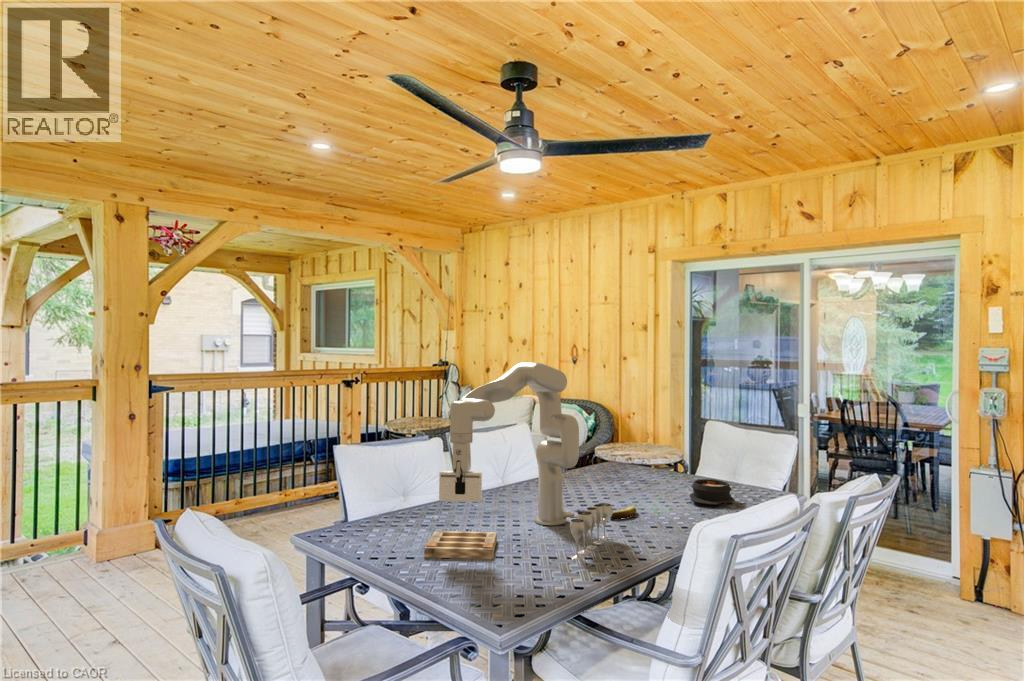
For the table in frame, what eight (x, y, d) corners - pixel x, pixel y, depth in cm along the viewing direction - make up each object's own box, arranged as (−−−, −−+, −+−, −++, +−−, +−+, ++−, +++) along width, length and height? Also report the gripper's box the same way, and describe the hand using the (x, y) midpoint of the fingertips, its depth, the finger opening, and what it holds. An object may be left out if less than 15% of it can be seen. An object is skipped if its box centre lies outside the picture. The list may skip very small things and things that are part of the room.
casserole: (699, 493, 278) (699, 475, 279) (740, 499, 268) (740, 480, 268) (680, 504, 258) (680, 485, 258) (724, 511, 247) (724, 491, 247)
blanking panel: (481, 500, 198) (482, 471, 198) (480, 502, 195) (481, 473, 196) (440, 498, 199) (440, 470, 199) (439, 500, 197) (439, 472, 197)
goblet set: (582, 561, 189) (582, 519, 189) (565, 557, 192) (566, 516, 192) (615, 537, 213) (615, 500, 213) (600, 534, 216) (600, 498, 216)
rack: (496, 540, 208) (496, 531, 208) (491, 559, 190) (491, 548, 190) (435, 539, 210) (435, 530, 210) (424, 557, 192) (424, 547, 192)
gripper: (468, 441, 189) (468, 499, 189) (475, 434, 205) (475, 487, 205) (445, 441, 190) (445, 498, 190) (454, 434, 206) (453, 487, 206)
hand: (460, 492), depth 197 cm, fingers closed on blanking panel, 2 cm apart
